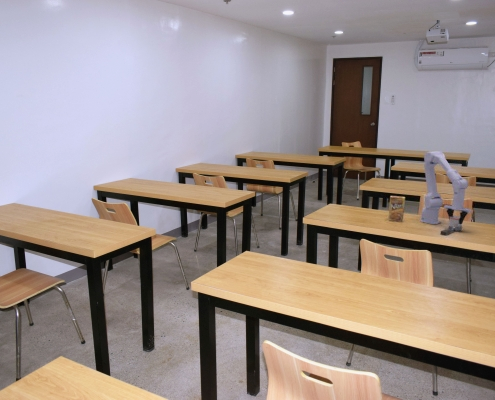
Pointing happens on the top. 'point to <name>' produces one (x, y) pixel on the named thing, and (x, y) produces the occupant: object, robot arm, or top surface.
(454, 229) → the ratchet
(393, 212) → the candy box
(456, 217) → the red-striped grey block
